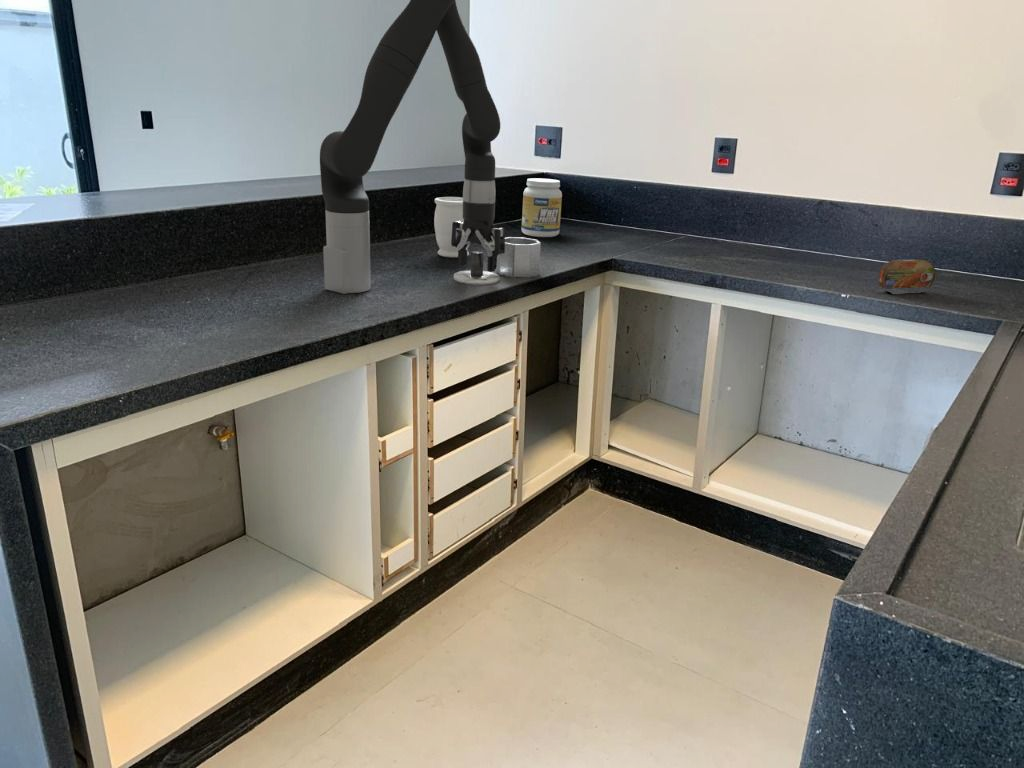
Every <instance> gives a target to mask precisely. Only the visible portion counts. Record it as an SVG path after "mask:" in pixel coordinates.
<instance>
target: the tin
mask: <svg viewBox="0 0 1024 768" xmlns="http://www.w3.org/2000/svg"><path fill="white" fill-rule="evenodd" d="M935 278H936V267H935V266H934V264H933V263H932V262H931V261H929V260H926V259H900V260H899V259H895V260H894V259H893V260H890V261H888V262H886V263H885V264H884V265H883V266H882V268H881V269H880V271H879V275H878V285H879V287H882V288H885V289H892V288H913V287H930V288H931V287H932V285H933V284H934V281H935V280H936V279H935Z"/></svg>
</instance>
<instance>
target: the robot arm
mask: <svg viewBox="0 0 1024 768" xmlns="http://www.w3.org/2000/svg"><path fill="white" fill-rule="evenodd" d="M436 33H437V35H438V39H439V40H440V43H441V47H442V50H443V53H444V57H445V59H446V62H447V66H448V70H449V73H450V77H451V79H452V80H451V81H452V84H453V88H454V91H455V93H456V96H457V98H458V99H459V100H460V101H461V103H462V104H463V106H464V109H465V112H466V113H465V115H464V117H463V119H462V124H461V137H462V145H463V146H462V147H463V152H464V161H465V162H464V179H463V180H464V182H463V187H462V189H463V190H462V198H463V216H462V217H463V219H464V223H463V222H462V221H455V222H453V224H452V239H451V245H452V246H455V247H456V248H457V249H458V258H457V263H458V265H459V266H461V267H463V266H464V267H465V266H466V265H467V264H468V256H467V250H468V248H469V247H470V245H471V244H478V245H481V246H482V247H483V249H485V250H486V253H487V255H488V256H487V263H486V264H487V267H486V268H487V271H488V272H493V273H494V272H495V271H496V270H497V258H498V255H499V254H503V253H505V238H506V229H505V228H504V227H498V228H496V227H495V226H494V220H495V215H496V214H495V213H496V193H497V192H496V180H495V179H496V158H495V155H493V152H492V142H493V141H495V140H496V139H497V137H498V136H499V134H500V131H501V119H500V114H499V111H498V109H497V106H496V104H495V102H494V99H493V97H492V95H491V92H490V91H489V89H488V85H487V81H486V77H485V74H484V70H483V66H482V62H481V58H480V55H479V53H478V50H477V48H476V46H475V44H474V42H473V40H472V39H471V37H470V35H469V33H468V31H467V30H466V27H465V25H464V23H463V21H462V18H461V15H460V13H459V10H458V5H457V1H456V0H409V2H408V3H407V4H406V7H405V8H404V9H403V10H402V11H401V12H400V14H398V16H397V18H396V19H395V20H394V21H393V22H392V24H391V25H390V26H389V27H388V29H387V30H386V31H385V33H384V34H383V36H382V38H380V41H379V43H378V45H377V46H376V48H375V50H374V52H373V54H372V56H371V59H370V60H369V62H368V64H367V68H366V71H365V73H364V79H363V83H362V90H361V94H360V99H359V103H358V106H357V108H356V110H355V111H354V114H353V116H352V117H351V119H350V121H349V122H348V124H347V126H346V127H345V129H344V130H343V131H341V130H337V131H334V132H331V133H329V134H328V135H326V137H325V138H324V139H323V141H322V142H321V145H320V148H319V170H320V171H319V172H320V184H321V185H320V186H321V192H322V196H323V200H324V205H325V208H324V209H325V230H326V231H325V233H326V236H325V237H326V245H324V246H323V249H322V251H323V253H322V254H323V273H324V274H323V276H324V277H323V278H324V289H325V290H327V291H331V292H335V293H339V294H344V295H345V294H355V293H357V294H358V293H364V292H367V291H370V289H371V288H372V287H371V286H372V285H371V237H370V235H371V234H370V199H369V197H368V195H367V193H366V190H365V187H364V180H363V177H364V176H365V175H366V174H367V173H368V172H369V171H370V170H371V168H372V166H373V165H374V161H375V160H376V156H377V154H378V152H379V149H380V146H381V144H382V141H383V139H384V136H385V134H386V131H387V129H388V126H389V125H390V123H391V120H392V119H393V117H394V115H395V114H396V112H397V109H398V108H399V106H400V103H401V102H402V100H403V99H404V96H405V94H406V92H407V91H408V89H409V87H410V86H411V83H412V82H413V80H414V78H415V76H416V74H417V73H418V70H419V68H420V66H421V64H422V61H423V59H424V57H425V55H426V53H427V51H428V49H429V47H430V45H431V43H432V41H433V38H434V36H435V34H436ZM462 230H464V232H465V234H464V235H463V237H462ZM493 237H494V238H493ZM469 244H470V245H469ZM468 246H469V247H468ZM467 247H468V248H467ZM466 248H467V250H466Z"/></svg>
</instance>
